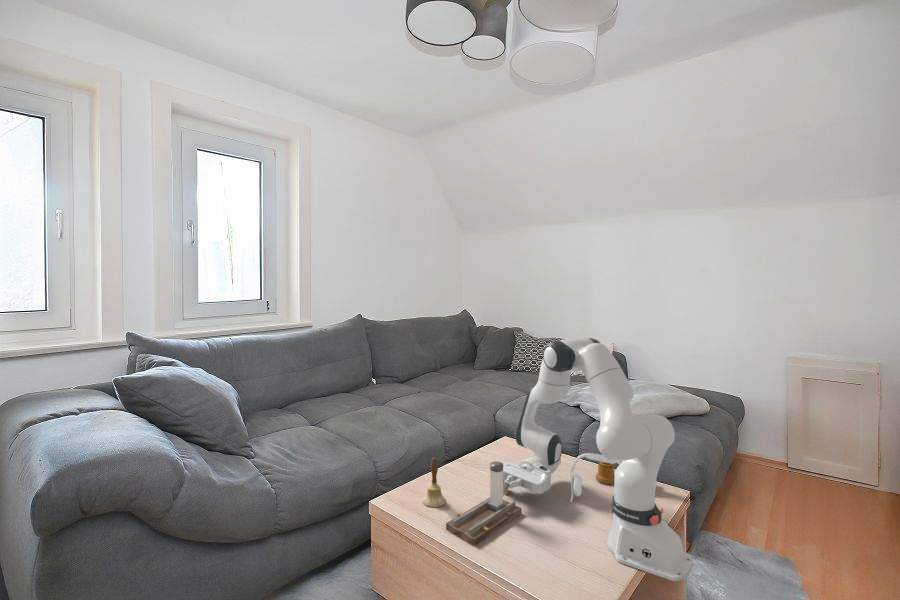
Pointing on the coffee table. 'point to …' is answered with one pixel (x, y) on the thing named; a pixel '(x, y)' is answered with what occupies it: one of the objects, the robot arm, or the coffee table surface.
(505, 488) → the decorative ornament
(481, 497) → the coffee table surface
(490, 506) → the fader tab
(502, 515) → the fader track
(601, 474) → the ornamental finial
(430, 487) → the hand bell
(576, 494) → the headset
